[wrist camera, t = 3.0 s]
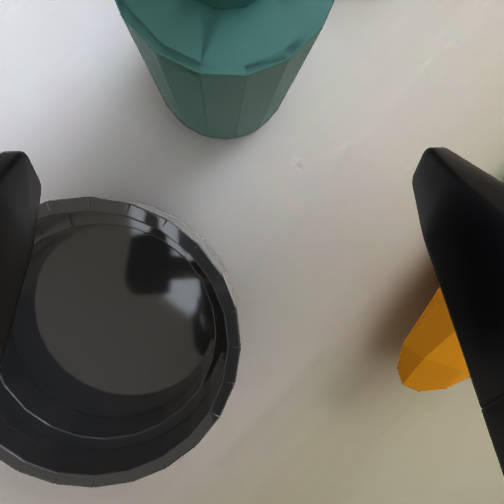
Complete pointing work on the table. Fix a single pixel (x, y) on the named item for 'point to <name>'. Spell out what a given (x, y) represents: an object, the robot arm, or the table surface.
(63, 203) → the pan
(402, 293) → the table surface
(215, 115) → the bottle
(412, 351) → the corn
